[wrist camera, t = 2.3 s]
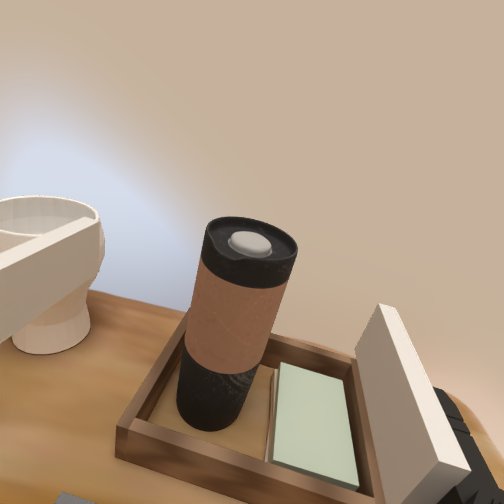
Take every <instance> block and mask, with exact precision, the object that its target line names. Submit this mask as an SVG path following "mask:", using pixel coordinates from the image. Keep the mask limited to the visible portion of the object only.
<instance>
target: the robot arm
mask: <svg viewBox="0 0 504 504" xmlns="http://www.w3.org/2000/svg"><path fill="white" fill-rule="evenodd" d="M99 246H100V221H97V220H94V219H90V218H87V217H82V218H80V219H78V220H75V221H73V222H71V223H69V224H66V225H64V226H62V227H59V228H57V229H55V230H53V231H50V232H48V233H46V234H43V235H41V236H39V237H37V238H34V239H32V240H30V241H27V242H25V243H23V244H21V245H18V246H16V247H14V248H11V249H9V250H7V251H4V252H2V253H0V344H1V343H2V342H3V341H5V340H6V339H8V338H9V337H10V336H12V335H13V334H14V333H16V332H17V331H19V330H20V329H21V328H23V327H24V326H25V325H27V324H28V323H29V322H31V321H32V320H34V319H35V318H36V317H38V316H39V315H40V314H42V313H43V312H45V311H46V310H47V309H49V308H50V307H51V306H53V305H54V304H55V303H57V302H58V301H60V300H61V299H62V298H64V297H65V296H66V295H68V294H69V293H71V292H72V291H73V290H75V289H76V288H77V287H79V286H80V285H81V284H83V283H84V282H86V281H87V280H88V279H90V278H91V277H92V276H94V275H95V274H97V273H98V272H99ZM355 353H356V358H357V363H358V368H359V373H360V378H361V383H362V388H363V393H364V398H365V403H366V408H367V412H368V417H369V422H370V427H371V432H372V437H373V442H374V447H375V452H376V457H377V462H378V467H379V472H380V477H381V481H382V486H383V491H384V496H385V501H386V504H504V491H503V490H501V489H499V487H498V486H497V484H496V482H495V480H494V478H493V476H492V474H491V472H490V470H489V468H488V466H487V464H486V462H485V460H484V459H483V457H482V455H481V453H480V451H479V449H478V447H477V445H476V443H475V441H474V439H473V437H472V436H470V431H469V430H468V428H467V426H466V424H465V423H464V422H463V421H464V420H463V418H462V416H461V414H460V412H459V410H458V408H457V406H456V405H455V403H454V402H453V401H452V400H451V399H450V398H449V396H448V395H447V394H446V393H445V392H444V391H443V390H442V389H438V388H435V387H432V385H431V383H430V381H429V379H428V377H427V375H426V372H425V370H424V368H423V366H422V364H421V362H420V359H419V357H418V355H417V353H416V351H415V349H414V346H413V344H412V343H411V340H410V338H409V336H408V334H407V331H406V329H405V327H404V325H403V323H402V321H401V318H400V316H399V314H398V312H397V310H396V308H394V307H390V306H387V305H383V304H380V303H378V305H377V307H376V309H375V311H374V313H373V315H372V317H371V318H370V320H369V322H368V324H367V326H366V328H365V330H364V332H363V334H362V336H361V338H360V340H359V341H358V343H357V345H356V347H355Z"/></svg>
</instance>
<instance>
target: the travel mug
mask: <svg viewBox="0 0 504 504" xmlns="http://www.w3.org/2000/svg"><path fill="white" fill-rule="evenodd" d="M297 251H298V247H297V244H296V242H295V241H294V239H293V238H292V237H291V236H289V235H288V234H287V233H286V232H284V231H282V230H281V229H279V228H277V227H275V226H273V225H270V224H268V223H265V222H262V221H258V220H254V219H250V218H244V217H221V218H217V219H214V220H212V221H211V222H209V223H208V225H207V227H206V230H205V235H204V241H203V246H202V251H201V256H200V261H199V266H198V271H197V276H196V282H195V287H194V292H193V297H192V302H191V307H190V312H189V317H188V322H187V328H186V333H185V339H184V345H183V352H182V360H181V367H180V374H179V381H178V389H177V407H178V410H179V412H180V414H181V416H182V417H183V419H184V420H185V421H186V422H187V423H188V424H190V425H191V426H193V427H195V428H197V429H199V430H203V431H217V430H221V429H223V428H225V427H227V426H229V425H230V424H231V423H232V422H234V420H235V419H236V418H237V416H238V415H239V413H240V411H241V408H242V406H243V403H244V401H245V399H246V396H247V394H248V391H249V389H250V386H251V384H252V381H253V379H254V376H255V374H256V371H257V369H258V366H259V364H260V361H261V359H262V356H263V353H264V350H265V347H266V344H267V342H268V339H269V336H270V333H271V329H272V327H273V324H274V321H275V318H276V315H277V312H278V309H279V306H280V303H281V300H282V297H283V294H284V291H285V288H286V285H287V283H288V280H289V276H290V274H291V271H292V267H293V265H294V262H295V259H296V256H297Z"/></svg>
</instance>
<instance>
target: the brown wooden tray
mask: <svg viewBox="0 0 504 504" xmlns="http://www.w3.org/2000/svg"><path fill="white" fill-rule="evenodd" d="M189 312H190V308H189V310H188V311H187V313H186V314H185V316H184V317H183V319H182V321H181V322H180V324H179V325H178V327H177V329H176V330H175V332H174V333H173V335H172V337H171V338H170V340H169V342H168V343H167V345H166V346H165V348H164V350H163V351H162V353H161V354H160V356H159V358H158V359H157V361H156V362H155V364H154V366H153V367H152V369H151V370H150V372H149V374H148V375H147V377H146V378H145V380H144V382H143V383H142V385H141V386H140V388H139V390H138V391H137V393H136V395H135V396H134V398H133V399H132V401H131V403H130V404H129V406H128V407H127V409H126V411H125V412H124V414H123V415H122V417H121V419H120V420H119V422H118V423H117V425H116V443H115V457H116V458H119V459H122V460H125V461H128V462H131V463H134V464H137V465H139V466H142V467H145V468H148V469H151V470H154V471H157V472H160V473H163V474H165V475H168V476H171V477H174V478H177V479H180V480H183V481H186V482H189V483H191V484H194V485H197V486H200V487H203V488H206V489H209V490H212V491H215V492H217V493H220V494H223V495H226V496H229V497H232V498H235V499H238V500H241V501H243V502H246V503H249V504H386V501H385V496H384V491H383V486H382V481H381V477H380V472H379V467H378V462H377V457H376V452H375V447H374V442H373V437H372V432H371V427H370V422H369V417H368V412H367V408H366V403H365V398H364V393H363V388H362V383H361V378H360V373H359V368H358V363H357V360H356V359H352V358H349V357H346V356H343V355H340V354H336V353H333V352H330V351H327V350H324V349H321V348H317V347H314V346H311V345H308V344H305V343H301V342H298V341H295V340H292V339H289V338H285V337H282V336H279V335H276V334H273V333H270V336H269V339H268V342H267V344H266V347H265V350H264V353H263V356H262V359H261V361H260V364H263V365H266V366H269V367H272V368H275V369H278V368H279V365H280V363H281V362H283V363H286V364H289V365H293V366H296V367H299V368H303V369H306V370H309V371H312V372H316V373H319V374H322V375H326V376H329V377H332V378H336V379H339V380H342V381H343V387H344V394H345V400H346V406H347V413H348V419H349V425H350V431H351V438H352V444H353V450H354V456H355V463H356V469H357V475H358V482H359V487H358V489H357V490H356V491H355V492H354V491H351V490H348V489H345V488H342V487H339V486H336V485H333V484H330V483H327V482H324V481H321V480H319V479H316V478H313V477H310V476H307V475H304V474H301V473H298V472H295V471H292V470H289V469H286V468H283V467H280V466H277V465H274V464H271V463H268V462H265V461H262V460H259V459H256V458H253V457H250V456H247V455H244V454H241V453H239V452H236V451H233V450H230V449H227V448H224V447H221V446H218V445H215V444H212V443H209V442H206V441H203V440H200V439H197V438H194V437H191V436H188V435H185V434H182V433H179V432H176V431H173V430H170V429H167V428H164V427H161V426H159V425H156V424H153V423H150V422H147V420H148V418H149V416H150V414H151V412H152V410H153V408H154V407H155V405H156V403H157V401H158V399H159V397H160V395H161V393H162V391H163V390H164V388H165V386H166V384H167V382H168V380H169V378H170V376H171V375H172V373H173V371H174V369H175V367H176V365H177V363H178V361H179V359H180V358H181V356H182V352H183V345H184V339H185V333H186V328H187V322H188V317H189Z"/></svg>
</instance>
